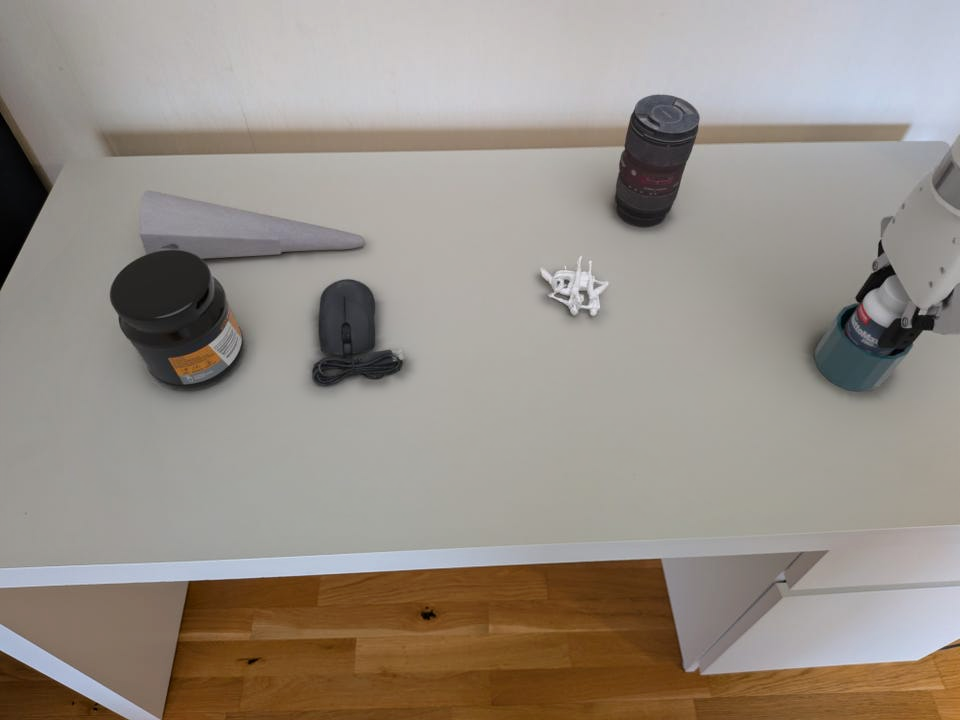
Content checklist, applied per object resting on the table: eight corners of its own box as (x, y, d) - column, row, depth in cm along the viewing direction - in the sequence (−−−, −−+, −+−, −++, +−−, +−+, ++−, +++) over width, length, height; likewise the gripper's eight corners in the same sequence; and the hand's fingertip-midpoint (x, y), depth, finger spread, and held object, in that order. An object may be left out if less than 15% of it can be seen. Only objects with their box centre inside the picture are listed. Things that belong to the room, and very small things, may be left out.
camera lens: (643, 240, 88) (670, 141, 76) (598, 207, 92) (617, 108, 80) (684, 214, 91) (716, 115, 79) (639, 183, 95) (664, 84, 83)
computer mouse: (388, 280, 83) (384, 257, 80) (406, 374, 75) (403, 353, 72) (305, 293, 82) (298, 270, 79) (314, 391, 73) (307, 370, 70)
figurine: (606, 322, 80) (539, 318, 80) (602, 273, 84) (538, 269, 84) (612, 306, 77) (543, 302, 77) (607, 256, 82) (541, 252, 82)
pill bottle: (827, 334, 74) (865, 278, 67) (864, 319, 76) (904, 262, 68) (863, 370, 71) (906, 315, 64) (900, 354, 73) (946, 298, 66)
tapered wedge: (361, 179, 88) (146, 176, 83) (364, 223, 83) (135, 223, 78) (362, 225, 94) (161, 225, 89) (364, 269, 89) (152, 271, 84)
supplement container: (259, 370, 75) (228, 297, 65) (163, 410, 72) (115, 339, 62) (231, 307, 80) (198, 232, 71) (140, 341, 77) (93, 267, 68)
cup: (870, 336, 79) (895, 302, 74) (896, 391, 74) (925, 358, 69) (805, 338, 78) (827, 303, 74) (827, 392, 74) (852, 359, 69)
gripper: (1089, 254, 51) (952, 390, 65) (981, 119, 61) (884, 263, 76) (991, 256, 51) (876, 391, 65) (900, 120, 61) (817, 264, 75)
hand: (881, 321), depth 70 cm, fingers closed on pill bottle, 5 cm apart
